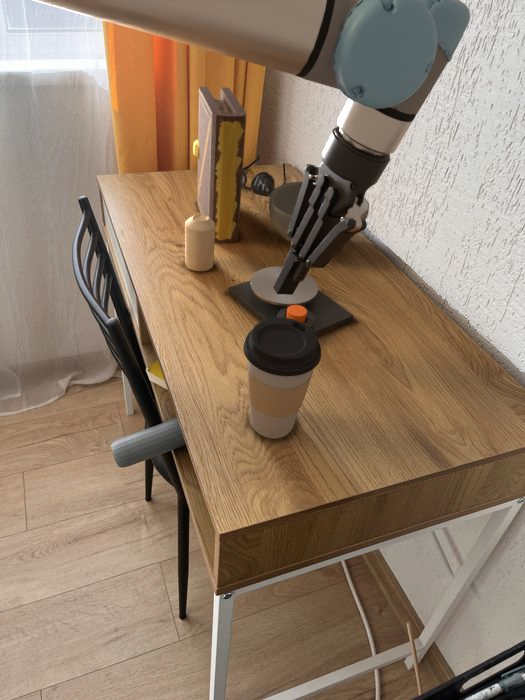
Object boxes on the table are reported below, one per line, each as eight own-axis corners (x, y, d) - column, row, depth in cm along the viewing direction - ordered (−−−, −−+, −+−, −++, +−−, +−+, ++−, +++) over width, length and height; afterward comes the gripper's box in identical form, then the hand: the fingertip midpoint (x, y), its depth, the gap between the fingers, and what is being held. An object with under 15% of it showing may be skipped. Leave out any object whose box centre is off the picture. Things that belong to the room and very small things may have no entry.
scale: (227, 293, 95) (228, 279, 93) (286, 273, 102) (288, 259, 100) (291, 347, 85) (294, 332, 83) (352, 320, 92) (356, 306, 90)
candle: (186, 256, 104) (186, 208, 97) (214, 258, 104) (216, 210, 98) (183, 270, 100) (183, 221, 93) (212, 272, 100) (214, 224, 94)
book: (244, 241, 111) (254, 116, 95) (204, 242, 109) (207, 115, 93) (226, 197, 127) (232, 84, 111) (190, 197, 125) (191, 82, 109)
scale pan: (236, 280, 93) (236, 277, 93) (288, 263, 99) (288, 260, 99) (279, 314, 86) (279, 311, 86) (331, 294, 92) (332, 291, 92)
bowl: (290, 212, 123) (295, 170, 117) (371, 238, 117) (382, 195, 111) (247, 246, 109) (251, 200, 103) (338, 277, 103) (348, 230, 96)
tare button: (282, 316, 86) (283, 308, 85) (296, 311, 88) (298, 302, 87) (294, 327, 85) (296, 318, 83) (309, 321, 86) (311, 312, 85)
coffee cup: (310, 406, 75) (328, 322, 65) (299, 457, 68) (317, 371, 58) (246, 392, 76) (255, 307, 66) (228, 440, 69) (235, 352, 59)
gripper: (417, 176, 59) (323, 323, 74) (361, 117, 66) (286, 262, 81) (367, 166, 55) (278, 323, 70) (314, 105, 62) (244, 260, 77)
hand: (282, 290), depth 76 cm, fingers closed
